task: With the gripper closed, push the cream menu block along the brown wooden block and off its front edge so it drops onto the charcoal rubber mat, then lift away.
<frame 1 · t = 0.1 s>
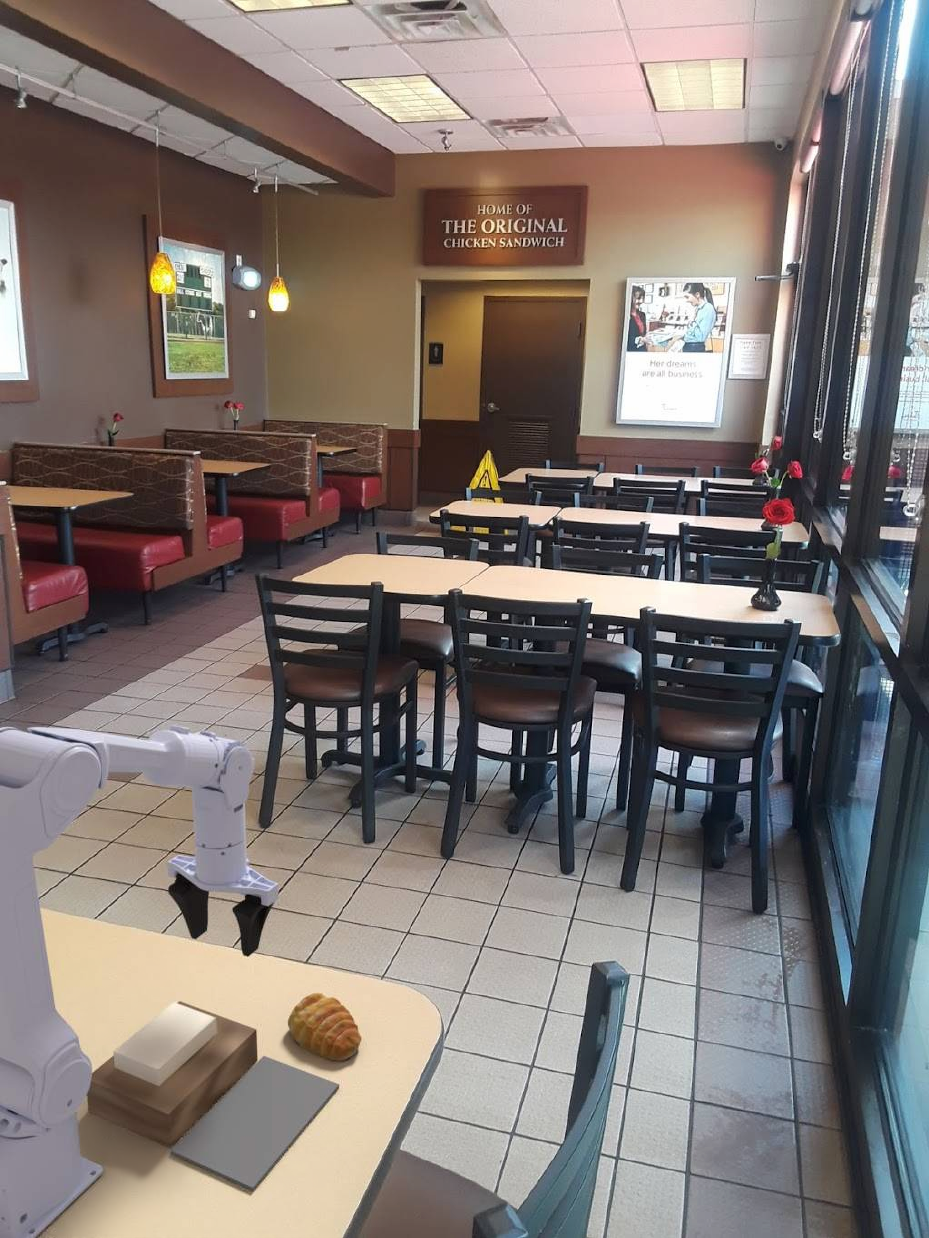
hand: (224, 942, 109), 10 cm above the table, tool pointing down, fingers open, 7 cm apart
pastry: (326, 1037, 109), on the table
menu block: (167, 1049, 100), point 4 cm above the table, touching brown wooden block
mat: (259, 1118, 96), on the table
brown wooden block: (176, 1084, 100), on the table
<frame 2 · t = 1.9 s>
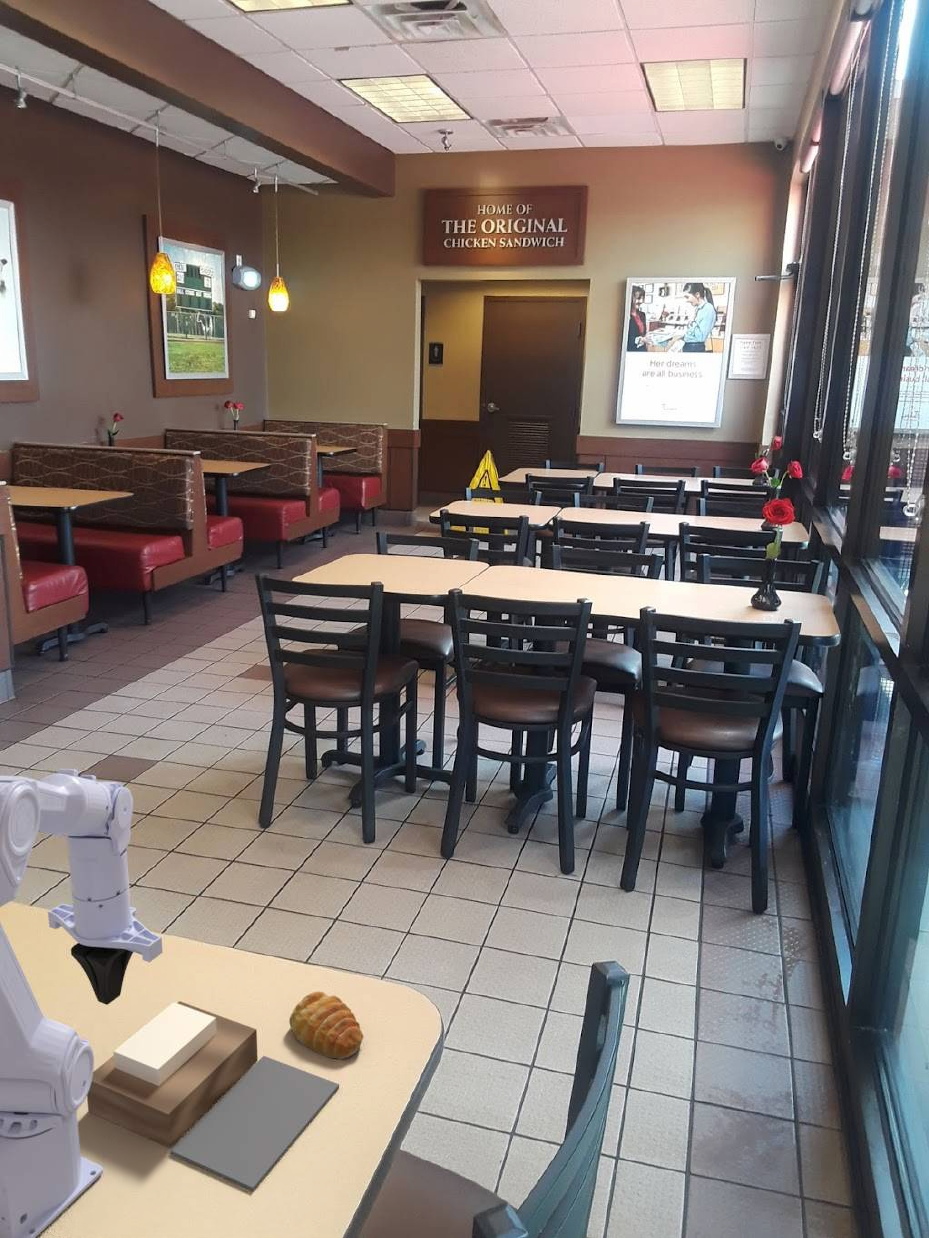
hand: (109, 998, 102), 8 cm above the table, tool pointing down, fingers closed
nothing on the table moved.
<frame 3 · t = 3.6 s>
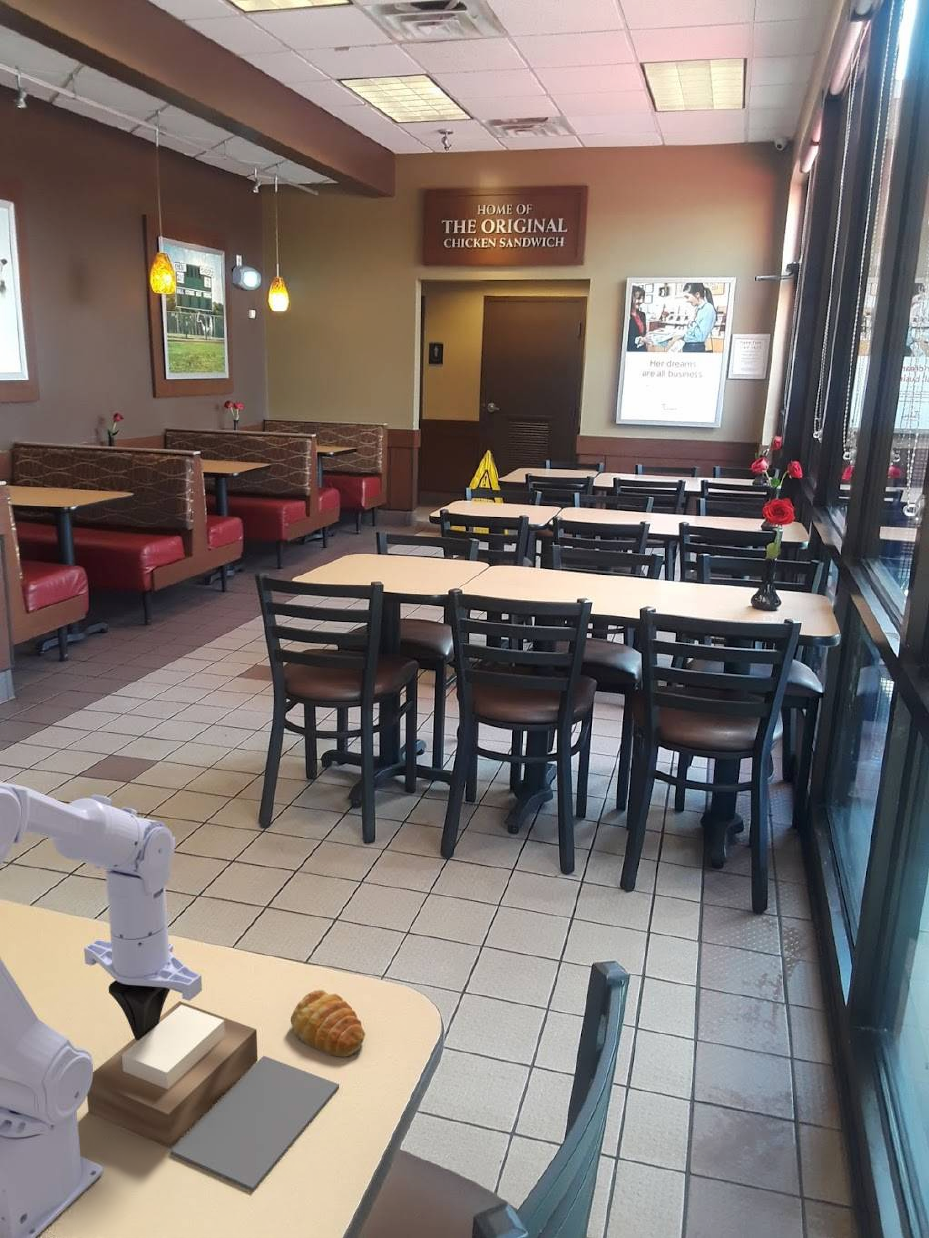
hand: (146, 1035, 101), 5 cm above the table, tool pointing down, fingers closed
menu block: (175, 1052, 99), point 4 cm above the table, touching gripper
everything else where it was.
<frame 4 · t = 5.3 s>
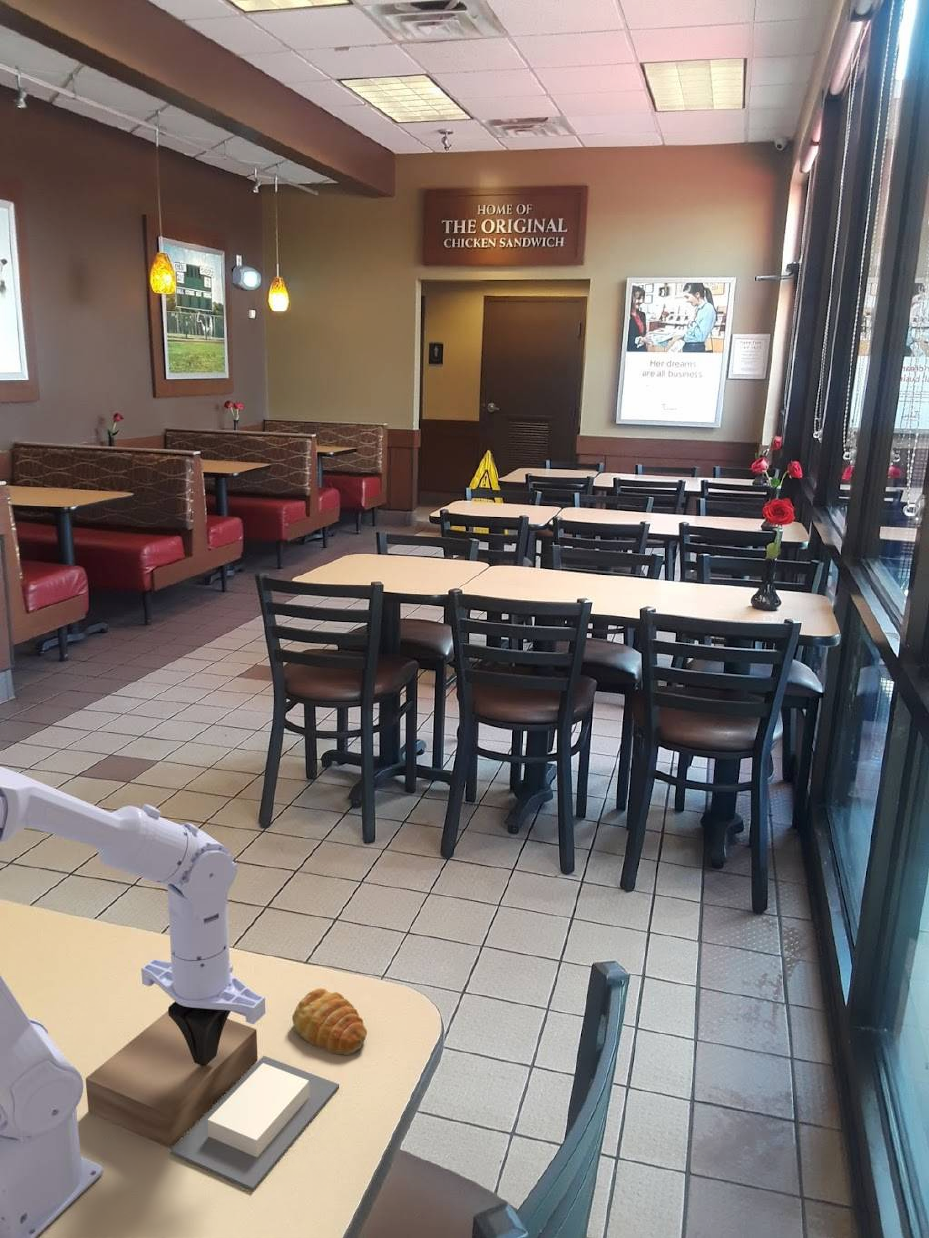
hand: (205, 1058, 97), 5 cm above the table, tool pointing down, fingers closed
menu block: (259, 1099, 95), point 2 cm above the table, tilted 180°, touching mat
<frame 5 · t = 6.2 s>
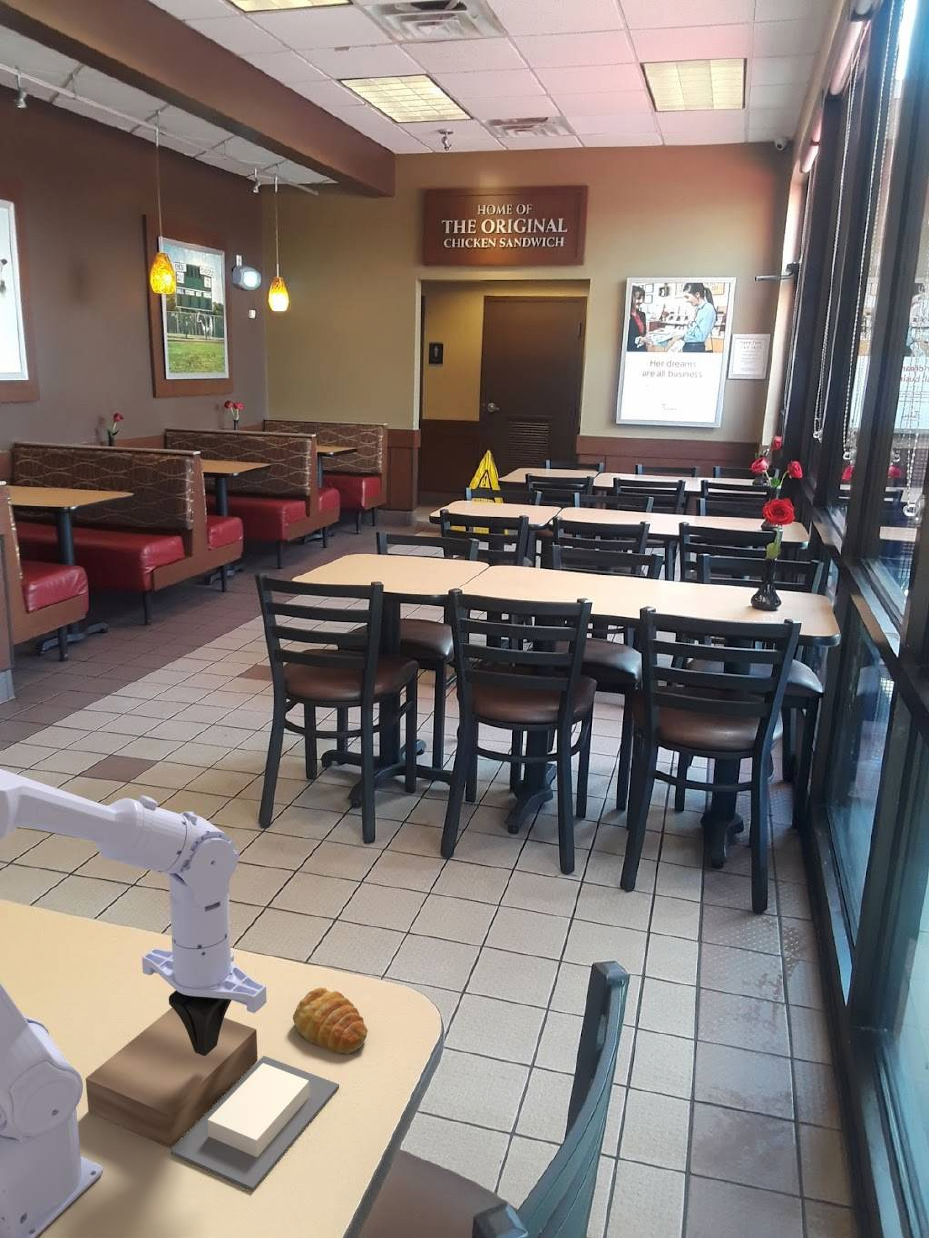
hand: (206, 1048, 97), 6 cm above the table, tool pointing down, fingers closed
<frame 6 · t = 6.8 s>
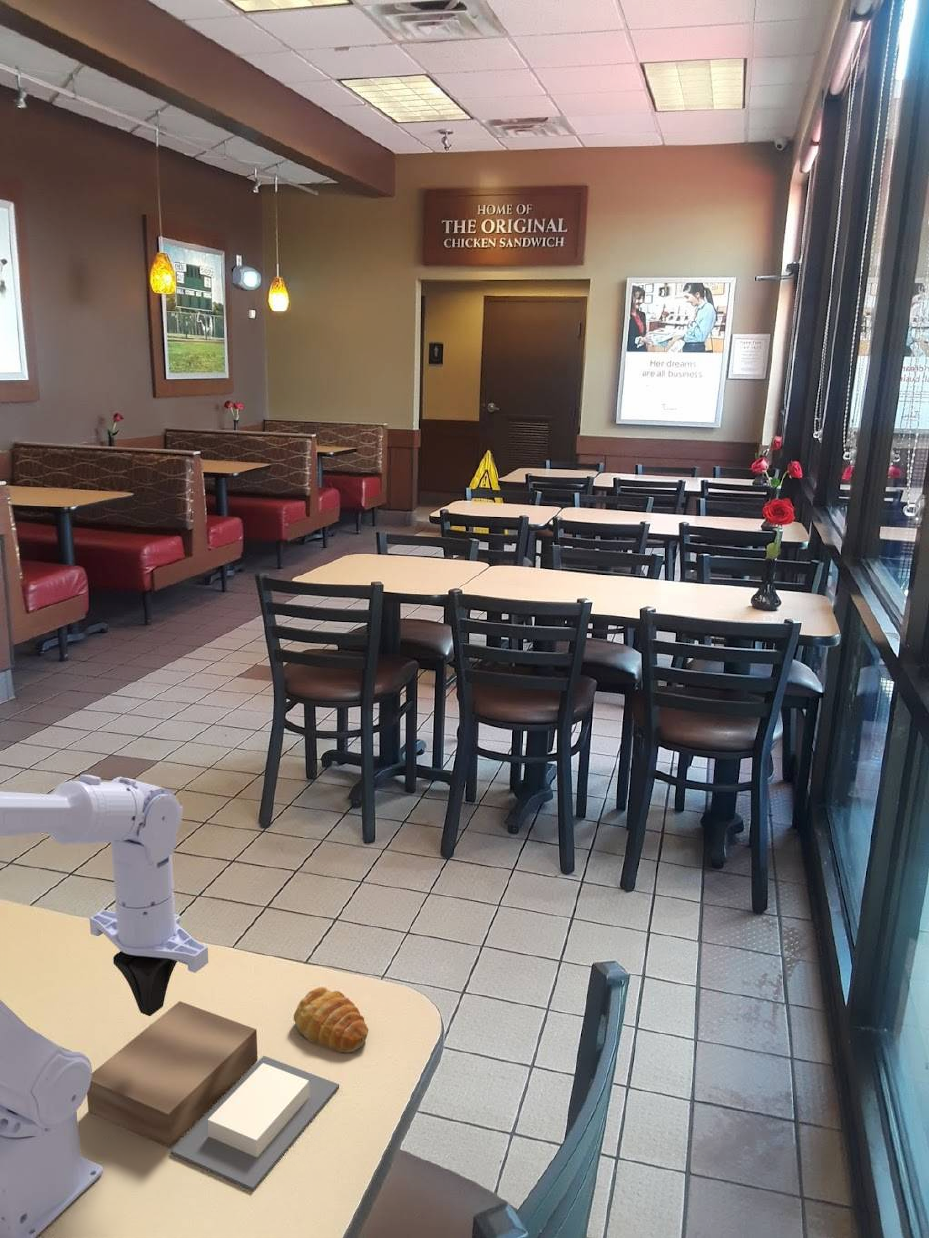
hand: (152, 1009, 98), 9 cm above the table, tool pointing down, fingers closed
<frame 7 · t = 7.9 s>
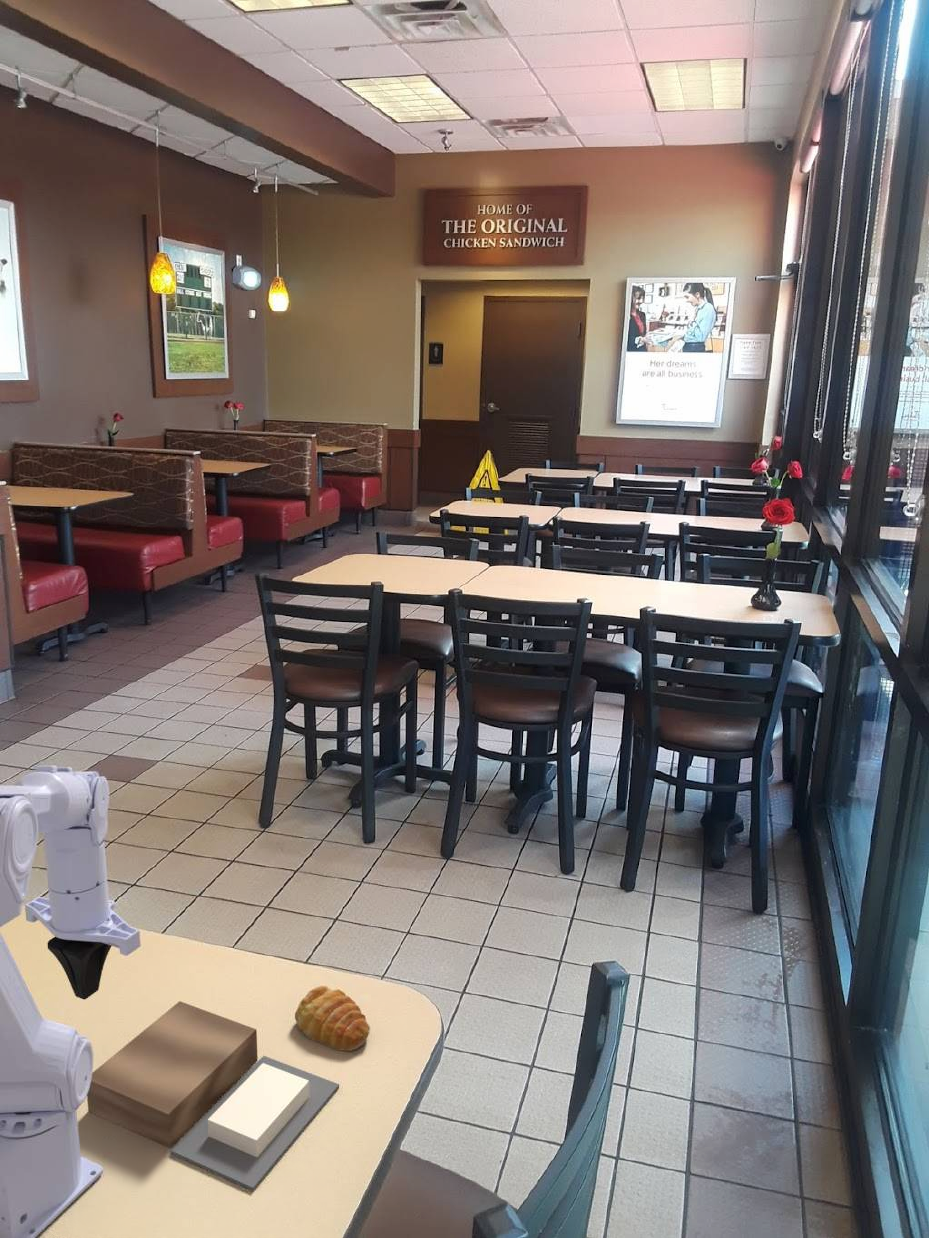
hand: (87, 992, 100), 9 cm above the table, tool pointing down, fingers closed
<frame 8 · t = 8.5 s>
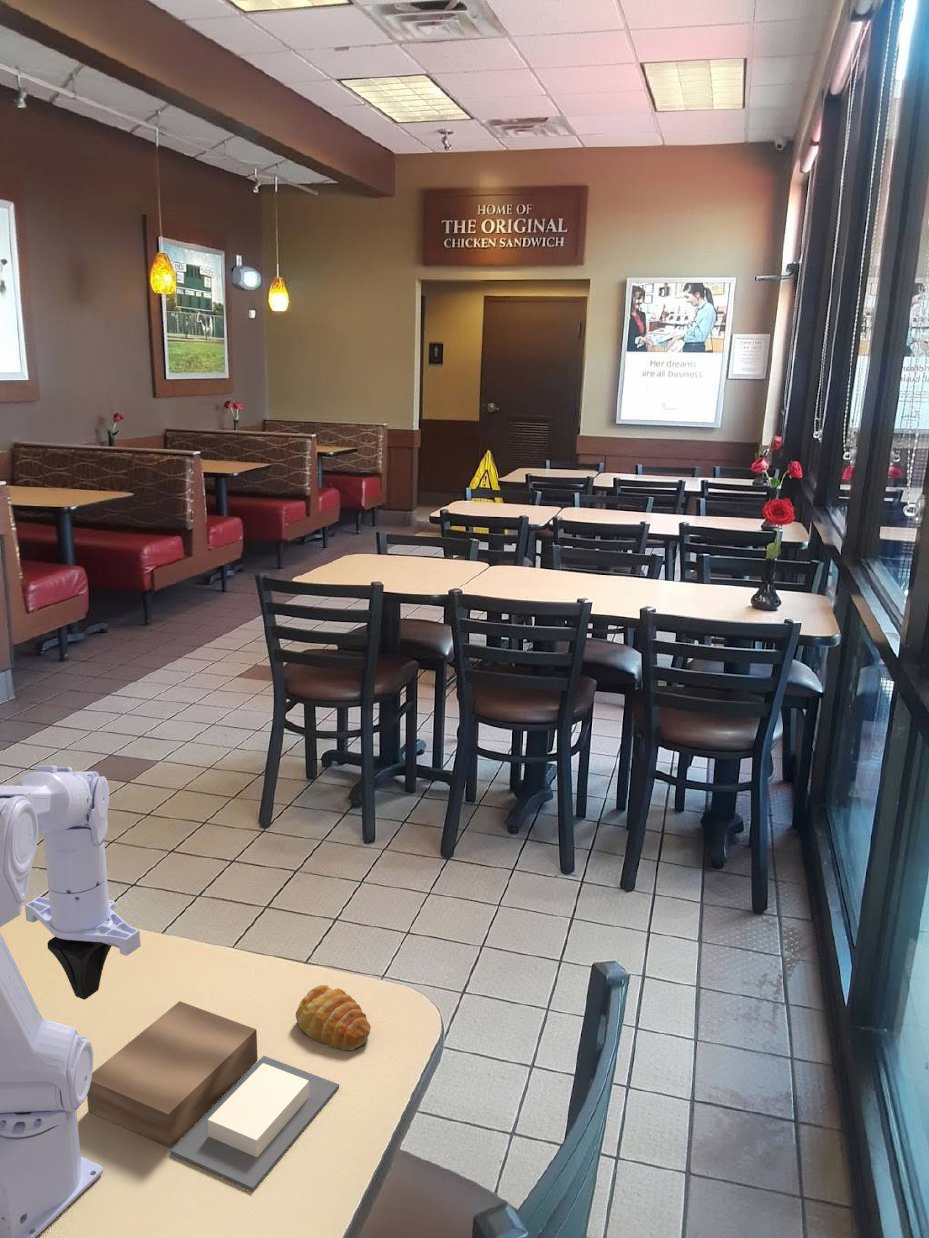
hand: (87, 992, 100), 9 cm above the table, tool pointing down, fingers closed
at the end: menu block inside the target area (0.2 cm from its centre), point 2.4 cm above the table; menu block point 2.4 cm above the table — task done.
